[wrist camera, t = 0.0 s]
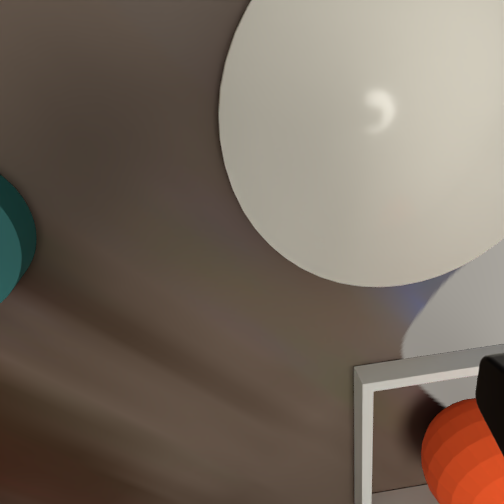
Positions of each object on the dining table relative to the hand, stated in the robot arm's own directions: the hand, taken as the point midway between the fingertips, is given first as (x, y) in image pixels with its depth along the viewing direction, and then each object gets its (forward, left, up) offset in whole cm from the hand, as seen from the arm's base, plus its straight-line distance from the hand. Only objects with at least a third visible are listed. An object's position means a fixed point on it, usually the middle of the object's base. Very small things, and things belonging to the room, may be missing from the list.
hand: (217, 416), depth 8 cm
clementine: (-17, -13, -15) cm, 26 cm away
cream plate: (+2, -9, -15) cm, 17 cm away
